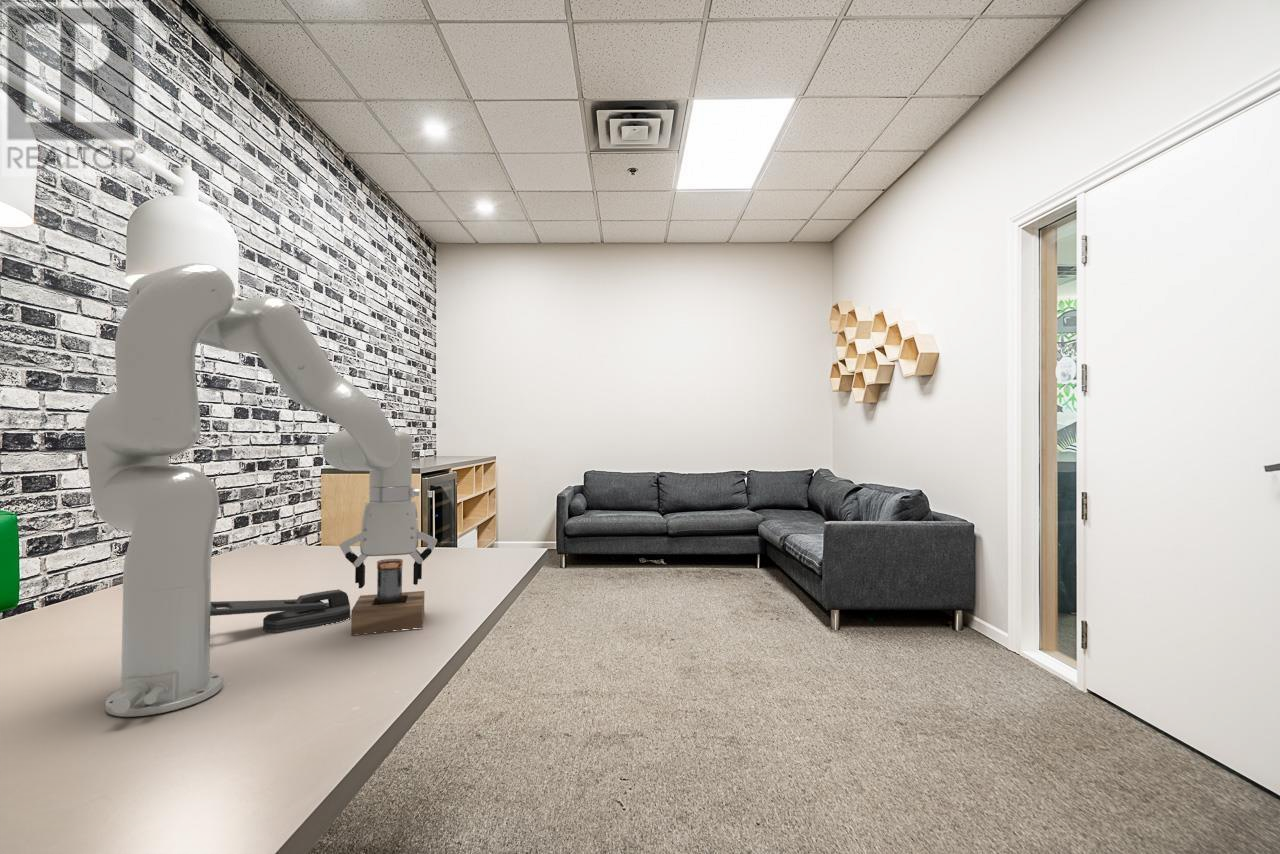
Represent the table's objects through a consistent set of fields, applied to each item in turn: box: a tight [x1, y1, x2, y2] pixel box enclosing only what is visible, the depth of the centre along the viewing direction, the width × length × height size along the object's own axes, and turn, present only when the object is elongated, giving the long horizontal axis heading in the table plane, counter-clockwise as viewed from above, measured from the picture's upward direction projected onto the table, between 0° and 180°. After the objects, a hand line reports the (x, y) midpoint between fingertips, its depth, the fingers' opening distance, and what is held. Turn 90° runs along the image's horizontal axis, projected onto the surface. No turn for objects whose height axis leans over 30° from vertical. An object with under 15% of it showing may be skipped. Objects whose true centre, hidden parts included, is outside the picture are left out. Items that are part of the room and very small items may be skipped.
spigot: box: [376, 558, 404, 605], centre depth 115 cm, size 5×5×12 cm
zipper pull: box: [210, 588, 351, 634], centre depth 113 cm, size 9×7×25 cm
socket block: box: [350, 590, 425, 636], centre depth 115 cm, size 11×12×4 cm
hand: (389, 585), depth 115 cm, fingers open, 9 cm apart
